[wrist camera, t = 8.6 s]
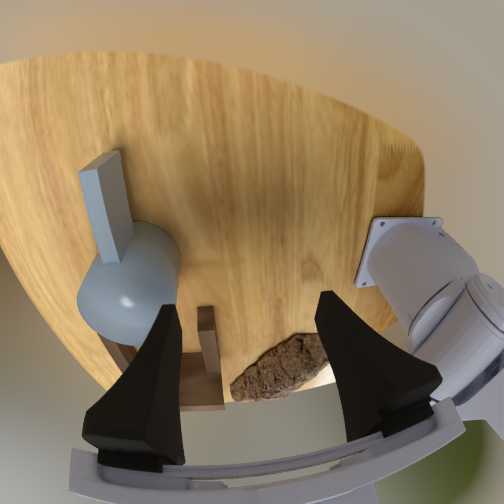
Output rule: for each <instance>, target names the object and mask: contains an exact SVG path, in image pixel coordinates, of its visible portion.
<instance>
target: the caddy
mask: <svg viewBox="0 0 504 504" xmlns="http://www.w3.org/2000/svg"><path fill="white" fill-rule="evenodd" d="M97 334H98V333H97ZM98 335H99V337H100V339H101V341H102V342H103V344H104V346H105V347H106V349H107V350H108V352H109V354H110V355H111V357H112V358H113V360H114V361H115V363H116V364H117V366H118V367H119V369H120V370H121V372H122V373H124V371H125V370H126V369H127V367H128V366H129V364H130V363H131V362H132V360H133V359H134V357H135V355H136V354H137V352H136V350H135V348H134V346H130V345H124V344H120V343H117V342H114V341H111V340H109V339H107V338H105V337H103V336H102V335H100V334H98ZM198 336H199V340H200V345H201V349H202V352H201V353H182V359H181V371H180V383H179V407H180V411H213V410H224V409H225V408H224V397H223V386H222V375H221V363H220V354H219V347H218V340H217V332H216V325H215V317H214V309H213V306H208V307H198Z"/></svg>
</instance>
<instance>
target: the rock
mask: <svg viewBox="0 0 504 504" xmlns="http://www.w3.org/2000/svg"><path fill="white" fill-rule="evenodd" d="M328 364H329V360H328V358H327V355H326V353H325V350H324V348H323V345H322V343H321V340H320V338H319V335H318V334H312V335H309V334H306V335H305V336H304V335H299V334H297V335H295V336H294V337H293V338H292V339H291V340H290V341H287V342H283V343H282V344H280V345H278V346H277V347H276V348H273V349H272V350H271V351H269V352H268V353H267V354H266V355H265V356H264V357H263V358H261V360H260V361H258V364H257V365H256V366H252V367H250V368H249V369H248V370H247V371H246V372H245V374H244V375H243V376H239V377H238V378H237V381H236V382H235V383H234V384H233V385H232V386H231V388H230V392H231V396H232V398H233V399H234V400H235V401H236V402H240V403H246V402H254V401H256V402H266V401H274V400H278V399H281V398H284V397H285V396H287V395H288V394H290V393H292V392H293V391H294V390H297V389H299V388H300V387H301V386H302V385H304V384H305V383H306V382H308V381H310V380H311V379H313V378H314V377H315V376H317V374H318V373H319V371H321V370H322V369H323V368H324V367H325V366H327V365H328Z"/></svg>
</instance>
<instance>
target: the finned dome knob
mask: <svg viewBox="0 0 504 504" xmlns="http://www.w3.org/2000/svg"><path fill="white" fill-rule="evenodd" d="M78 175H79V179H80V184H81V188H82V193H83V197H84V201H85V205H86V209H87V213H88V216H89V220H90V223H91V227H92V230H93V234H94V237H95V240H96V243H97V247H98V250H99V251H98V252H97V254H96V256H95V258H94V260H93V262H92V264H91V266H90V268H89V270H88V272H87V274H86V276H85V278H84V280H83V283H82V285H81V287H80V289H79V291H78V295H77V305H78V309H79V312H80V314H81V316H82V317H83V319H84V320H85V322H86V323H87V324H88V325H89V326H90V327H91V328H92V329H93V330H94V331H96V332H97V333H98V334H100V335H102V336H103V337H105V338H107V339H109V340H111V341H114V342H117V343H120V344H124V345H130V346H142V344H143V342H144V340H145V339H146V337H147V335H148V333H149V331H150V329H151V327H152V325H153V323H154V321H155V319H156V317H157V315H158V312H159V310H160V308H161V306H162V305H163V304H175V306H176V300H177V290H178V281H179V272H180V263H181V257H180V252H179V249H178V247H177V245H176V243H175V241H174V240H173V239H172V237H171V236H170V235H169V234H168V233H166V232H165V231H164V230H162V229H161V228H159V227H157V226H155V225H153V224H150V223H147V222H141V221H132V218H131V213H130V208H129V203H128V198H127V193H126V187H125V181H124V175H123V169H122V163H121V156H120V150H117V151H111V152H106V153H103V154H101V155H100V156H99V157H97V158H96V159H95V160H93V161H92V162H91V163H89V164H88V165H87V166H86V167H84V168H83V169H82V170H81V171H79V172H78Z"/></svg>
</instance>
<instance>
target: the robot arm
mask: <svg viewBox="0 0 504 504" xmlns="http://www.w3.org/2000/svg"><path fill="white" fill-rule="evenodd" d="M381 222H382V224H381ZM442 223H443V220H442V219H441V218H440V217H377V218H375V219H373V221H372V224H371V228H370V231H369V235H368V239H367V243H366V247H365V250H364V254H363V257H362V261H361V264H360V268H359V271H358V274H357V277H356V281H355V286H356V287H357V288H362V287H369V286H376V285H377V287H378V288H379V290H380V291H381V293H382V295H383V296H384V298H385V299H386V301H387V302H388V304H389V305H390V307H391V309H392V310H393V312H394V313H395V315H396V317H397V318H398V320H399V321H400V323H401V325H402V326H403V328H404V330H405V331H406V333H407V335H408V336H409V338H408V340H407V341H406V343H405V346H406V348H407V350H408V351H409V353H407V352H405V351H403V350H402V349H400V348H398V347H397V346H395V345H393V344H392V343H391V342H389V341H388V340H386V339H385V338H384V337H382V336H381V335H380V334H378V333H377V332H376V331H374V330H373V329H372V328H371V327H370V326H369V325H367V324H366V323H365V322H364V321H363V320H362V319H361V318H360V317H359V316H358V315H357V314H355V313H354V312H353V311H352V310H351V309H350V308H349V307H348V306H347V305H346V304H345V303H344V302H343V301H342V300H341V299H340V298H339V297H338V296H337V295H336V294H335V293H334V292H333V291H332V290H330V291H322V292H321V294H320V298H319V302H318V307H317V310H316V314H315V318H314V319H315V323H316V327H317V331H318V335H319V338H320V340H321V343H322V345H323V348H324V350H325V353H326V355H327V358H328V360H329V363H330V365H331V368H332V370H333V373H334V376H335V379H336V383H337V387H338V391H339V395H340V400H341V405H342V409H343V415H344V421H345V428H346V436H347V443H345V444H341V445H338V446H334V447H331V448H327V449H323V450H319V451H315V452H311V453H306V454H301V455H296V456H291V457H286V458H280V459H274V460H267V461H260V462H251V463H241V464H231V465H229V464H228V465H207V466H183V464H185V456H184V450H183V442H182V433H181V422H180V407H179V383H180V371H181V359H182V329H181V325H180V321H179V318H178V314H177V310H176V306H175V304H163V305H162V306H161V308H160V310H159V312H158V315H157V317H156V319H155V321H154V323H153V325H152V327H151V329H150V331H149V333H148V335H147V337H146V339H145V340H144V342H143V344H142V346H141V347H140V349H139V351H138V352H137V354H136V355H135V357H134V359H133V360H132V362H131V363H130V364H129V366H128V367H127V369H126V370H125V371H124V373H123V374H122V375H121V376H120V378H119V379H118V380H117V381H116V383H115V384H114V385H113V386H112V387H111V388H110V389H109V390H108V391H107V392H106V393H105V395H104V396H103V397H102V398H101V399H100V400H99V401H97V402H96V403H95V404H94V405H93V406H92V407H91V408H90V409H88V410H87V411H86V415H85V418H84V423H83V430H82V437H83V439H84V440H85V441H87V442H88V443H90V444H91V445H93V446H95V447H96V448H98V450H99V451H98V454H96V453H93V452H89V451H85V450H80V449H76V448H72V452H71V462H70V477H69V491H70V492H71V493H74V494H77V495H80V496H84V497H87V498H90V499H94V500H98V501H102V502H106V503H110V504H379V501H378V497H377V494H376V491H375V487H374V484H373V482H375V481H377V480H380V479H382V478H384V477H387V476H389V475H391V474H393V473H395V472H397V471H400V470H401V469H403V468H405V467H407V466H409V465H411V464H413V463H415V462H417V461H419V460H421V459H422V458H424V457H426V456H428V455H429V454H431V453H433V452H434V451H436V450H438V449H439V448H441V447H442V446H444V445H446V444H447V443H449V442H450V441H452V440H453V439H455V438H456V437H458V436H459V435H460V434H462V433H464V432H465V430H466V429H465V427H464V425H463V422H462V421H464V420H476V419H485V420H486V421H487V422H488V423H489V424H490V426H491V427H492V428H493V429H494V430H495V431H496V432H497V434H498V435H499V436H500V437H501V438H502V440H503V441H504V288H503V287H502V286H501V285H500V284H499V283H497V282H496V281H495V280H494V279H492V278H491V277H489V276H488V275H486V274H483V273H479V270H478V267H477V264H476V262H475V261H474V259H473V258H472V257H471V256H470V255H469V254H468V253H467V252H466V251H465V250H464V249H463V248H462V247H461V246H460V245H459V244H458V243H457V242H456V241H455V240H454V239H453V238H451V237H450V236H449V235H448V234H447V233H446V232H445V231H444V230H443V229H442V228H441V226H442ZM357 453H359V454H357ZM354 454H357V455H354ZM351 455H354V456H351ZM348 456H351V457H349V458H346V459H344V460H341V461H340V462H339V463H338V464H336V465H334V466H332V467H330V468H329V471H325V472H320V473H316V474H312V475H307V476H303V477H298V478H293V479H288V480H283V481H277V482H271V483H265V484H258V485H251V486H243V487H233V488H228V486H227V485H224V484H223V482H220V481H191V480H215V479H233V478H245V477H254V476H262V475H269V474H275V473H282V472H287V471H293V470H298V469H303V468H307V467H312V466H316V465H319V464H324V463H327V462H331V461H335V460H338V459H342V458H345V457H348Z"/></svg>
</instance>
